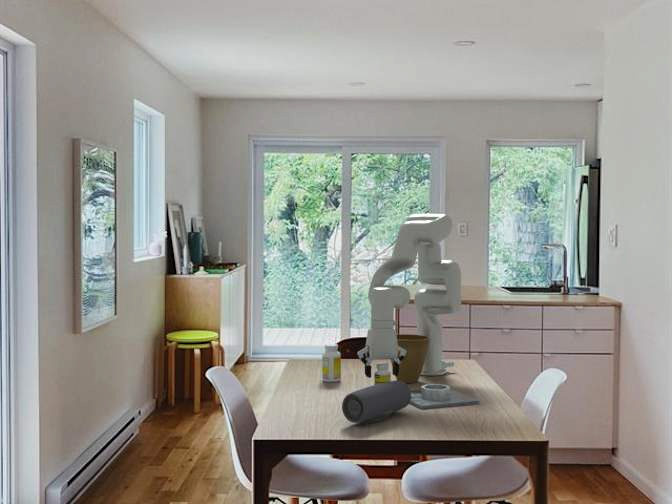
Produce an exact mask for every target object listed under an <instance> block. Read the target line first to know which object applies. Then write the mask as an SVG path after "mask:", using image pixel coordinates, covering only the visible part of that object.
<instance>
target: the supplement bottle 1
mask: <svg viewBox="0 0 672 504" xmlns="http://www.w3.org/2000/svg"><path fill="white" fill-rule="evenodd" d="M338 349H339V344H336V343H327V344H325V345H324V350H325V351H323V353H322V354H321V357H322V359H321V361H322V362H321V364H322V365H321V367H322V370H321V371H322V372H321V373H322V380H323V382H326V383H327V382H328V383H336V382H340V381H341V379H342V367H341V366H342V356H341V355H342V354H341V352H340V351H338Z"/></svg>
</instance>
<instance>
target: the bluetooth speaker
mask: <svg viewBox="0 0 672 504" xmlns="http://www.w3.org/2000/svg"><path fill="white" fill-rule="evenodd" d="M410 391H411V390H410V387H409V386H408V383H404V382H403V381H397V380H391V381H390V382H385V383H381V384H377V385H369V386H367V387H366V386H365V387H364V388H360V389H358V390H355V391H352V392H351V393H350V392H349V393H347V394H346V395H345V397H344V398H343V399H342V403H341V410H342V413H343V416H344V417H345V419H346V420H347V421H349V422H350V423H353V424H359V423H366V422H367V423H366V424H373V423H372V422H374V423H377V422H381V421H384V420H387V419H388V417H389V418H391V415H392V414H393V413H396V412H398V411H401V410H403V409H405V408H406V407H407V406H408V405H410V401H411V392H410ZM380 420H381V421H380Z"/></svg>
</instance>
